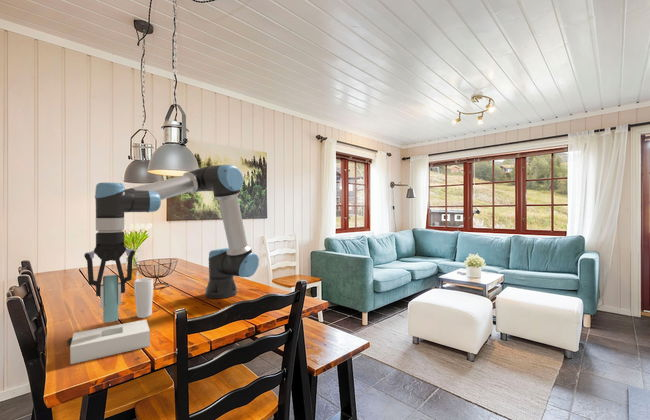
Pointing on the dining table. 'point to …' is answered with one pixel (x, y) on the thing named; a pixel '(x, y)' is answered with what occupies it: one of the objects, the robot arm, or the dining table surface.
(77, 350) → the socket block
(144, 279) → the drinking glass
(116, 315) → the teal peg
